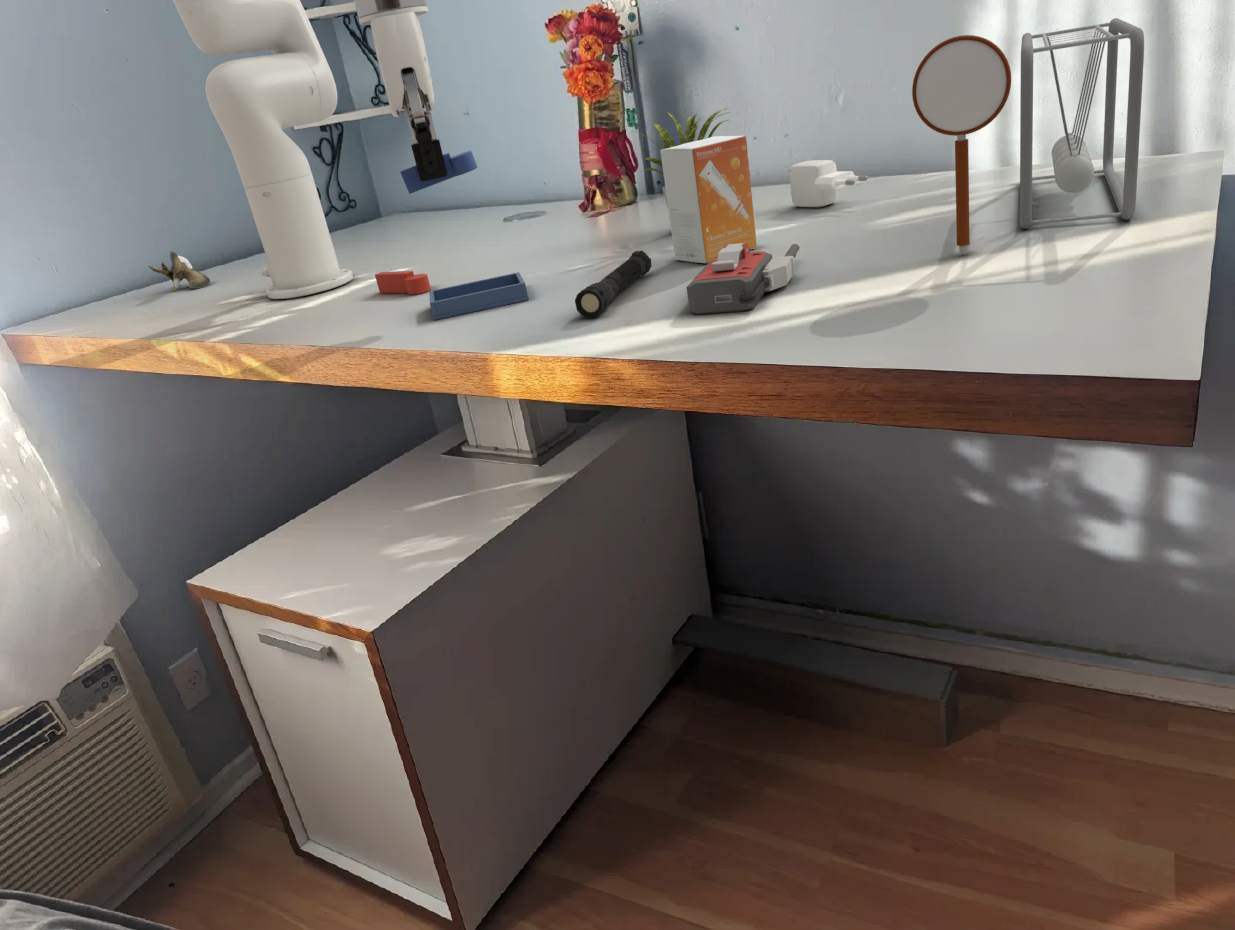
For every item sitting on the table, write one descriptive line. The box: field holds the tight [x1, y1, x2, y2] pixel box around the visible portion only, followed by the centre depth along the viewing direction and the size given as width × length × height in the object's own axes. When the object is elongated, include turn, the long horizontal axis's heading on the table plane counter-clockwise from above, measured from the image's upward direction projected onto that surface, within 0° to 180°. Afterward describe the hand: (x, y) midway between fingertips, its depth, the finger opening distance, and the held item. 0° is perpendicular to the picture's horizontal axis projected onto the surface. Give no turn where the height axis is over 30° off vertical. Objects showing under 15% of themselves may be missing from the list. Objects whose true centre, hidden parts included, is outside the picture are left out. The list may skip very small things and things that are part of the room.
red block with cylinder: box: [374, 270, 432, 296], centre depth 122 cm, size 8×3×3 cm, turn 57°
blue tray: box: [428, 271, 529, 321], centre depth 108 cm, size 11×7×2 cm, turn 102°
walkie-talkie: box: [686, 243, 801, 315], centre depth 93 cm, size 9×4×20 cm
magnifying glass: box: [911, 34, 1012, 256], centre depth 88 cm, size 9×2×20 cm, turn 65°
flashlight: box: [574, 250, 652, 319], centre depth 100 cm, size 3×16×3 cm, turn 160°
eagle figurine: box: [148, 250, 211, 292], centre depth 157 cm, size 8×7×9 cm
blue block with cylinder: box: [399, 150, 478, 195], centre depth 107 cm, size 8×3×3 cm, turn 102°
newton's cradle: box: [1019, 17, 1145, 230], centre depth 102 cm, size 30×10×18 cm, turn 158°
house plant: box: [632, 107, 731, 208], centre depth 125 cm, size 14×14×16 cm
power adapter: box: [789, 159, 869, 208], centre depth 126 cm, size 11×5×6 cm, turn 37°
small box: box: [659, 135, 758, 264], centre depth 108 cm, size 8×6×13 cm
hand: (433, 177), depth 107 cm, fingers closed on blue block with cylinder, 1 cm apart
